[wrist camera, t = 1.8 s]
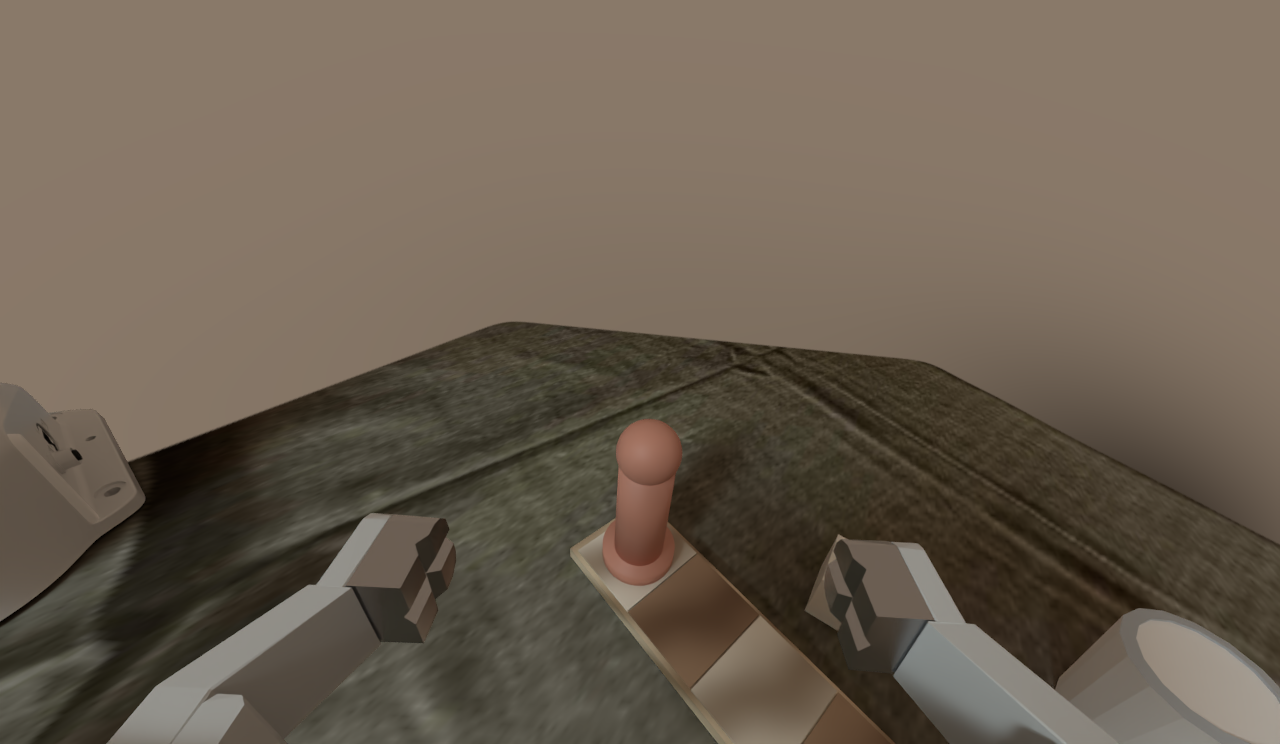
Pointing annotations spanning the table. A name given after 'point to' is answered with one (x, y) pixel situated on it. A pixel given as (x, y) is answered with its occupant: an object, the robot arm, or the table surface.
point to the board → (727, 655)
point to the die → (823, 594)
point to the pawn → (643, 504)
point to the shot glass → (1172, 685)
